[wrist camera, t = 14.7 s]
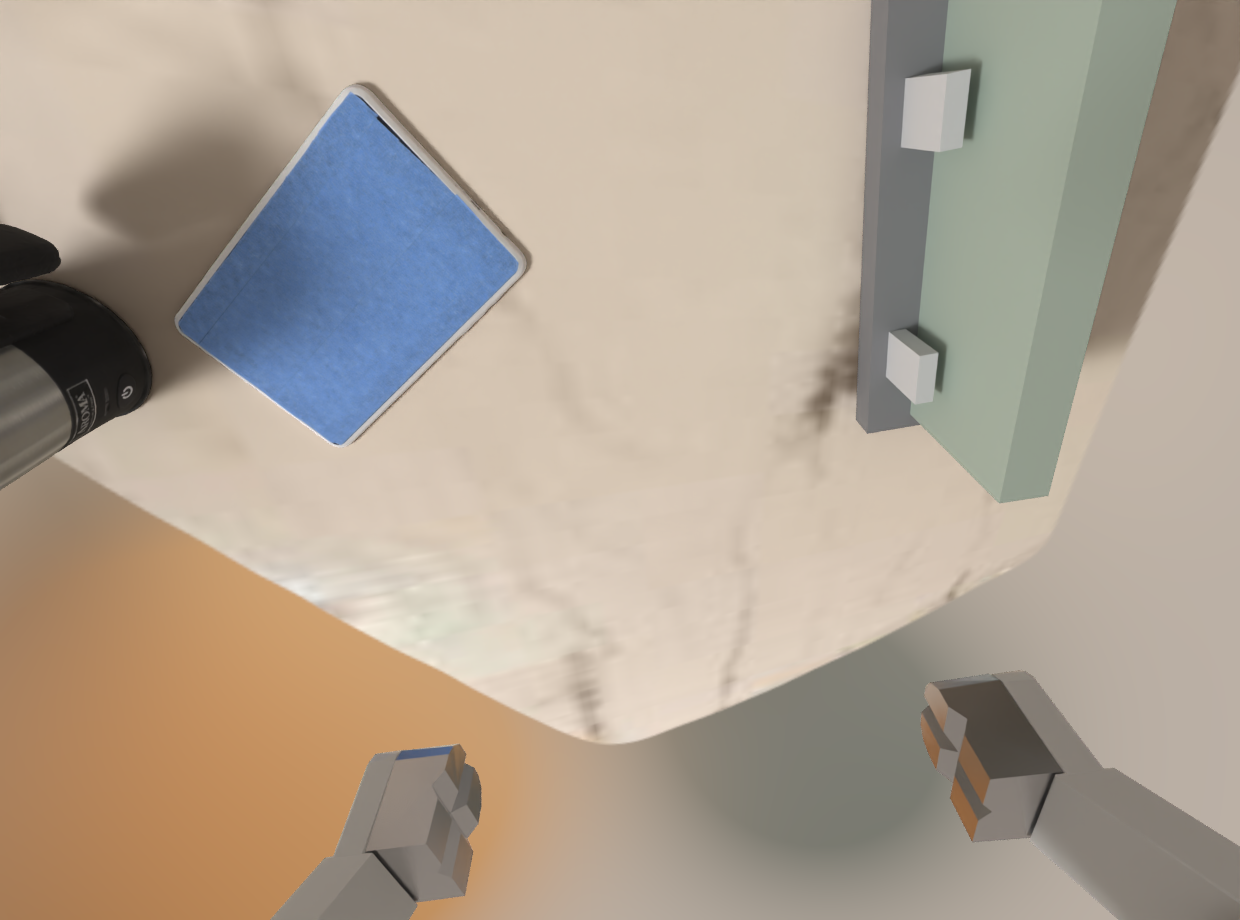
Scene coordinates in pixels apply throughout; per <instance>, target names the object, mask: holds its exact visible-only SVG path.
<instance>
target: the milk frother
mask: <svg viewBox="0 0 1240 920" xmlns="http://www.w3.org/2000/svg"><path fill="white" fill-rule="evenodd" d="M60 264H61V259H60V257H59V252H58V250H57V249H56V247H55V246H54V245H53V244H52V243H50V242H49V241H47V240H45V239H43V238H40V237H38V236H36V235H34V234H32V233H29V232H27V231H24V230H21V229H19V228H16V227H12V226H9V225H5V224H0V285H6V284H8V285H6V286H4V287H3V288H1V289H0V490H1V489H3V488H5V487H6V486H8V485H9V484H11V483H12V482H14V481H15V480H17V479H18V478H20V477H21V476H23V475H24V474H26V473H27V472H29V471H30V470H32V469H33V468H35V467H36V466H38V465H40V464H41V463H42V462H44V461H46V460H47V459H49V458H50V457H51V456H53V455H54V454H55V453H57V452H59V451H61V450H62V449H64V448H65V447H67V446H68V445H70V444H71V443H73V442H74V441H76V440H77V439H79V438H81V437H82V436H84V435H86V434H88V433H89V432H91V431H93V430H94V429H96V428H98V427H99V426H101V425H103V424H104V423H106V422H108V421H110V420H112V419H113V418H115V417H119V416H123V415H126V414H128V413H131V412H132V411H134V410H136V409H137V408H138V407H140V406H141V405H142V404H143V403H144V401H145V400H146V399H147V397H148V395H149V391H150V389H151V380H152V376H151V367H150V364H149V361H148V358H147V356H146V354H145V352H144V350H143V348H142V346H141V344H140V343H139V341H138V340H137V338H136V337H135V335H134V334H133V332H132V331H131V330H130V329H129V328H128V327H127V326H126V325H125V324H124V322H123V321H122V320H120V319H119V318H118V317H117V316H116V315H115V314H114V313H113V312H111V311H110V310H109V309H108V308H106V307H105V306H103V305H102V304H101V303H99V302H97V301H96V300H94V299H93V298H91V297H89V296H87V295H85V294H83V293H81V292H78V291H76V290H75V289H72V288H71V287H68V286H65V285H62V284H58V283H54V282H50V281H44V280H25V279H30V278H33V277H37V276H39V275H44V274H47V273H50V272H52V271H54V270H55V269H56V268H58V267H59V265H60ZM20 280H22V281H20ZM15 281H19V282H15ZM12 282H13V283H12ZM9 283H10V284H9Z"/></svg>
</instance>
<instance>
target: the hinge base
mask: <svg viewBox="0 0 1240 920" xmlns="http://www.w3.org/2000/svg"><path fill="white" fill-rule="evenodd" d="M948 1H949V0H872V4H871V31H870V58H869V85H868V112H867V139H866V166H865V193H864V220H863V247H862V274H861V301H860V328H859V355H858V382H857V409H856V420H857V421H858V423H859V424H860V425H861V426H862V428H863V429H864V430H865V431H866V433H867V434H868V433H874V432H880V431H886V430H892V429H897V428H903V427H909V426H915V425H920V424H919V423H918V422H917V421H916V420H915V419H914V418H913V416H912V415H911V414H910V409H911V401H912V402H913V403H914V404H915V405H916V404H922V403H928V402H933V396H934V387H935V379H936V370H937V361H938V352H937V351H935V350H934V349H933V348H931V347H930V346H929V345H927V344H926V343H924V342H923V341H922V340H920V339H919V338H918V337H917V334H918V323H919V313H920V302H921V291H922V280H923V270H924V259H925V248H926V237H927V227H928V216H929V205H930V194H931V184H932V173H933V162H934V152H943V151H948V150H953V149H958V148H962V145H963V137H964V128H965V119H966V111H967V102H968V93H969V85H970V76H971V69H965V70H956V71H947V72H942V65H943V55H944V44H945V33H946V22H947V12H948Z"/></svg>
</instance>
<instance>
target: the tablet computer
mask: <svg viewBox="0 0 1240 920" xmlns="http://www.w3.org/2000/svg"><path fill="white" fill-rule="evenodd" d="M526 267H527V261H526V259H525V256H524V254H523V253H522V252H521V251H520V249H519V248H518V247H517V246H516V245H515V244H514V243H513V242H512V241H511V240H510V239H509V238H508V237H507V236H505V235H504V234H503V233H502V232H501V230H500V228H499V227H498V226H497V225H496V224H495V223H494V222H493V221H492V220H491V219H490V218H489V217H488V216H487V214H486V213H485V212H484V211H483V210H482V209H481V208H480V207H479V206H478V205H477V204H476V203H475V202H474V201H473V200H472V199H471V198H470V197H469V196H468V194H467V193H466V192H465V191H464V190H463V189H462V188H461V187H460V186H459V185H458V184H457V183H456V182H455V181H454V179H453V178H452V177H451V176H450V175H449V174H448V173H447V172H446V171H445V170H444V169H443V168H442V167H441V166H440V165H439V163H438V162H437V161H436V160H435V159H434V158H433V157H432V156H431V155H430V154H429V153H428V152H427V151H426V150H425V149H424V147H423V146H422V145H421V144H420V143H419V142H418V141H417V140H416V139H415V138H414V137H413V136H412V135H411V134H410V132H409V131H408V130H407V129H406V128H405V127H404V126H403V125H402V124H401V123H400V122H399V121H398V119H397V118H396V117H395V116H394V115H393V114H392V113H391V112H390V111H389V110H388V109H387V108H386V107H385V105H384V104H383V103H382V102H381V101H380V100H379V99H378V98H377V97H376V96H375V94H374V93H373V92H371V91H370V90H369V89H368V88H366V87H364V86H363V85H360V84H353V85H350V86H348V87H347V88H345V89H344V90H343V91H342V92H341V93H340V95H339V96H338V97H337V98H336V100H335V101H334V103H333V104H332V105H331V107H330V108H329V109H328V111H327V112H326V113H325V115H324V116H323V117H322V119H321V120H320V121H319V123H318V124H317V125H316V126H315V128H314V129H313V131H312V132H311V133H310V135H309V136H308V137H307V139H306V140H305V141H304V143H303V144H302V145H301V147H300V148H299V149H298V151H297V152H296V154H295V155H294V156H293V158H292V159H291V160H290V162H289V163H288V164H287V166H286V167H285V168H284V170H283V171H282V172H281V173H280V175H279V176H278V177H277V179H276V180H275V182H274V183H273V184H272V186H271V187H270V188H269V190H268V191H267V192H266V194H265V195H264V196H263V197H262V199H261V200H260V202H259V203H258V204H257V206H256V207H255V208H254V210H253V211H252V212H251V214H250V215H249V216H248V218H247V219H246V220H245V222H244V223H243V224H242V226H241V227H240V229H239V230H238V231H237V233H236V234H235V235H234V237H233V238H232V239H231V241H230V242H229V243H228V245H227V246H226V247H225V249H224V250H223V251H222V253H221V254H220V255H219V257H218V258H217V260H216V261H215V262H214V264H213V265H212V266H211V268H210V269H209V271H208V272H207V273H206V275H205V276H204V278H203V279H202V280H201V282H200V283H199V285H198V286H197V287H196V289H195V290H194V291H193V293H192V294H191V295H190V297H189V298H188V299H187V301H186V302H185V304H184V305H183V306H182V308H181V309H180V311H179V312H178V313H177V314H176V316H175V325H176V328H177V330H178V331H179V332H180V333H181V334H182V335H183V336H184V337H185V338H187V339H188V340H189V341H191V342H192V343H193V344H195V345H196V346H198V347H199V348H200V349H202V350H203V351H204V352H206V353H207V354H208V355H210V356H211V357H213V358H214V359H215V360H217V361H218V362H219V363H221V364H222V365H223V366H225V367H226V368H227V369H229V370H230V371H232V372H233V373H234V374H236V375H237V376H239V377H240V378H241V379H242V380H244V381H245V382H247V383H248V384H249V385H251V386H252V387H254V388H255V389H256V390H258V391H259V392H260V393H261V394H263V395H264V396H265V397H267V398H268V399H270V400H271V401H272V402H274V403H275V404H276V405H278V406H279V407H280V408H282V409H283V410H285V411H286V412H287V413H289V414H290V415H291V416H293V417H294V418H295V419H297V420H298V421H299V422H301V423H302V424H303V425H305V426H306V427H308V428H309V429H310V430H312V431H313V432H314V433H316V434H317V435H318V436H320V437H321V438H322V439H324V440H325V441H326V442H328V443H329V444H331V445H333V446H335V447H346V446H348V445H350V444H351V443H352V442H354V441H355V439H356V438H358V437H359V436H360V435H361V434H362V433H363V432H364V431H365V430H366V429H367V428H368V427H369V426H370V425H371V424H372V423H373V422H374V421H375V420H376V419H377V418H378V417H379V416H380V415H381V414H382V413H383V412H384V411H385V410H386V409H387V408H388V407H389V406H390V405H391V404H392V403H393V402H394V401H395V400H396V399H398V398H399V397H400V396H401V395H402V394H403V393H404V392H405V391H406V390H407V389H408V388H409V387H410V386H411V385H412V384H413V383H414V382H415V381H416V380H417V379H418V378H419V377H420V376H421V375H422V374H423V373H424V372H425V371H426V370H427V369H428V368H429V367H430V366H431V365H432V364H433V363H434V362H435V361H436V360H437V359H438V358H439V357H440V356H441V355H442V354H443V353H444V352H445V351H446V350H447V349H448V348H449V347H450V346H451V345H452V344H453V343H454V342H455V341H456V340H457V339H458V338H460V337H461V336H462V335H463V334H464V333H466V332H467V331H468V330H469V329H470V328H471V327H472V326H473V324H474V323H475V322H476V321H478V320H479V319H480V318H481V317H482V316H483V315H484V314H485V313H486V311H487V310H488V309H489V308H490V307H491V306H492V305H493V304H495V303H496V302H497V301H498V300H499V299H500V298H501V297H502V295H503V294H504V293H505V292H506V291H507V290H508V289H509V288H510V287H511V286H512V285H513V284H514V283H515V282H516V281H517V280H518V279H519V278H520V277H521V276H522V275H523V273H524V272H525V270H526Z"/></svg>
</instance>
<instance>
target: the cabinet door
mask: <svg viewBox="0 0 1240 920" xmlns="http://www.w3.org/2000/svg"><path fill="white" fill-rule="evenodd" d="M1176 2H1177V0H949V1H948V12H947V22H946V33H945V44H944V55H943V65H942V72H947V71H956V70H965V69H971V76H970V85H969V93H968V102H967V111H966V119H965V128H964V137H963V145H962V148H958V149H953V150H948V151H943V152H934V162H933V173H932V184H931V194H930V205H929V216H928V227H927V237H926V248H925V259H924V270H923V280H922V291H921V302H920V313H919V323H918V334H917V337H918V338H919V339H920V340H922V341H923V342H924V343H926V344H927V345H929V346H930V347H931V348H933V349H934V350H935V351H937V352H938V361H937V370H936V379H935V387H934V396H933V402H928V403H922V404H916V405H915V404H914V403H913V402H912V401H911V409H910V414H911V415H912V416H913V418H914V419H915V420H916V421H917V422H918V423H919V424H920V425H921V426H922V427H923V428H924V429H925V430H926V431H927V432H928V433H929V434H930V435H931V436H932V437H933V438H934V439H935V440H936V441H937V442H938V443H939V444H940V445H941V446H942V447H943V448H944V449H945V450H946V451H947V452H948V453H949V454H950V455H951V456H952V457H953V458H954V459H955V460H956V461H957V462H958V463H959V464H960V465H961V466H962V467H963V468H964V469H965V470H966V471H967V472H968V473H969V474H970V475H971V476H972V477H973V478H974V479H975V480H976V481H977V482H978V483H979V484H980V485H981V486H982V487H983V488H984V489H985V490H986V491H987V492H988V493H989V494H990V495H991V496H992V497H993V498H994V499H995V500H996V501H997V502H998V503H1005V502H1011V501H1018V500H1024V499H1031V498H1037V497H1044V496H1048V495H1049V491H1050V487H1051V483H1052V479H1053V476H1054V472H1055V468H1056V464H1057V460H1058V456H1059V452H1060V449H1061V445H1062V441H1063V437H1064V433H1065V429H1066V426H1067V422H1068V418H1069V414H1070V410H1071V406H1072V402H1073V399H1074V395H1075V391H1076V387H1077V383H1078V379H1079V376H1080V372H1081V368H1082V364H1083V360H1084V356H1085V352H1086V349H1087V345H1088V341H1089V337H1090V333H1091V329H1092V326H1093V322H1094V318H1095V314H1096V310H1097V306H1098V302H1099V299H1100V295H1101V291H1102V287H1103V283H1104V279H1105V276H1106V272H1107V268H1108V264H1109V260H1110V256H1111V252H1112V249H1113V245H1114V241H1115V237H1116V233H1117V229H1118V226H1119V222H1120V218H1121V214H1122V210H1123V206H1124V202H1125V199H1126V195H1127V191H1128V187H1129V183H1130V179H1131V176H1132V172H1133V168H1134V164H1135V160H1136V156H1137V152H1138V149H1139V145H1140V141H1141V137H1142V133H1143V129H1144V126H1145V122H1146V118H1147V114H1148V110H1149V106H1150V102H1151V99H1152V95H1153V91H1154V87H1155V83H1156V79H1157V76H1158V72H1159V68H1160V64H1161V60H1162V56H1163V52H1164V49H1165V45H1166V41H1167V37H1168V33H1169V29H1170V26H1171V22H1172V18H1173V14H1174V10H1175V6H1176Z"/></svg>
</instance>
